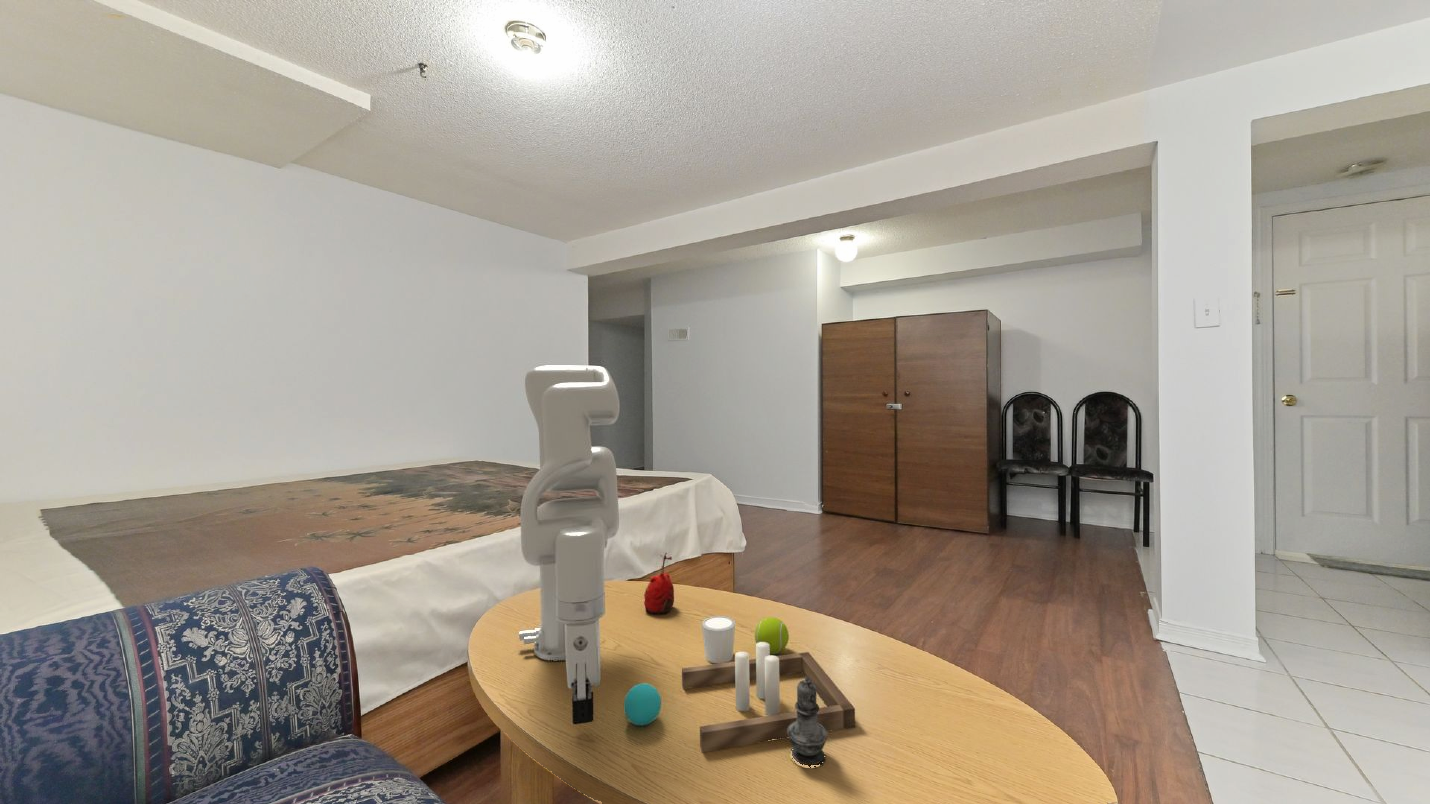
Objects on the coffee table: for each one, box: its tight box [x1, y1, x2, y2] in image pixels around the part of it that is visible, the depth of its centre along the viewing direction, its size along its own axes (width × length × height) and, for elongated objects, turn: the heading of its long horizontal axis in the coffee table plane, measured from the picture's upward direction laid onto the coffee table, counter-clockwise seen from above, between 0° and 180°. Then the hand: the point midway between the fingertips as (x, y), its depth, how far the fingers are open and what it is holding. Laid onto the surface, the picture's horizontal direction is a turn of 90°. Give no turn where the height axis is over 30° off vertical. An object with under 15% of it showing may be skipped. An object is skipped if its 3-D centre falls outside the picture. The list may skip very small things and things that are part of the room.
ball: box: [623, 682, 662, 726], centre depth 87 cm, size 6×6×6 cm
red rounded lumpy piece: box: [643, 552, 675, 615], centre depth 131 cm, size 8×7×15 cm
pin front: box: [734, 651, 751, 712], centre depth 90 cm, size 2×2×9 cm
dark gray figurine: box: [787, 676, 829, 768], centre depth 78 cm, size 6×6×12 cm
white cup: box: [701, 615, 736, 664], centre depth 108 cm, size 7×7×7 cm
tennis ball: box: [754, 616, 790, 655], centre depth 109 cm, size 7×7×7 cm
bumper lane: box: [681, 651, 856, 753], centre depth 91 cm, size 25×19×3 cm
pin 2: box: [764, 654, 781, 716], centre depth 89 cm, size 2×2×9 cm
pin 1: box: [755, 642, 771, 700], centre depth 94 cm, size 2×2×9 cm
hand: (583, 720), depth 84 cm, fingers closed
